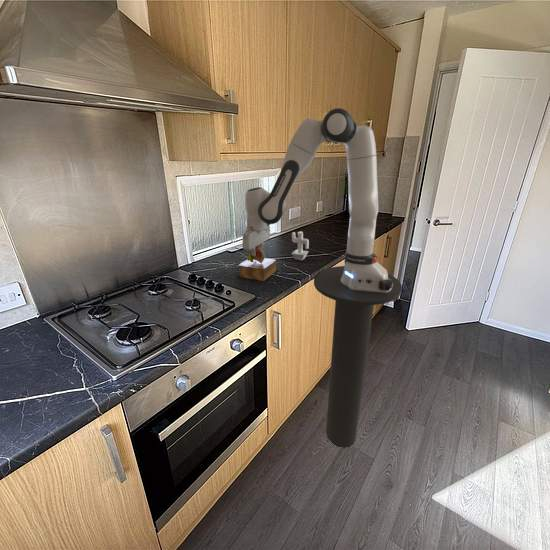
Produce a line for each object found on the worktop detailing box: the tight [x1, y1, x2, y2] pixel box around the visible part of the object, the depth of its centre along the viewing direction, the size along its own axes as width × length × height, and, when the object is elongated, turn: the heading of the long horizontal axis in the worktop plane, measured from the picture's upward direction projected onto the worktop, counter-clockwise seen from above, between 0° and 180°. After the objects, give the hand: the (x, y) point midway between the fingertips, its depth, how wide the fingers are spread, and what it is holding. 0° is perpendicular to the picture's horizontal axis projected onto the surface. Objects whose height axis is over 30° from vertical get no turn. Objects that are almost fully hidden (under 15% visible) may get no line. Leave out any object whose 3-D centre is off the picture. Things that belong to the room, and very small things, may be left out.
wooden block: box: [237, 257, 277, 282], centre depth 141 cm, size 14×14×6 cm
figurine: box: [291, 231, 310, 261], centre depth 158 cm, size 7×9×15 cm
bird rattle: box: [246, 245, 266, 263], centre depth 138 cm, size 6×11×9 cm
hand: (257, 253), depth 138 cm, fingers closed on bird rattle, 4 cm apart
